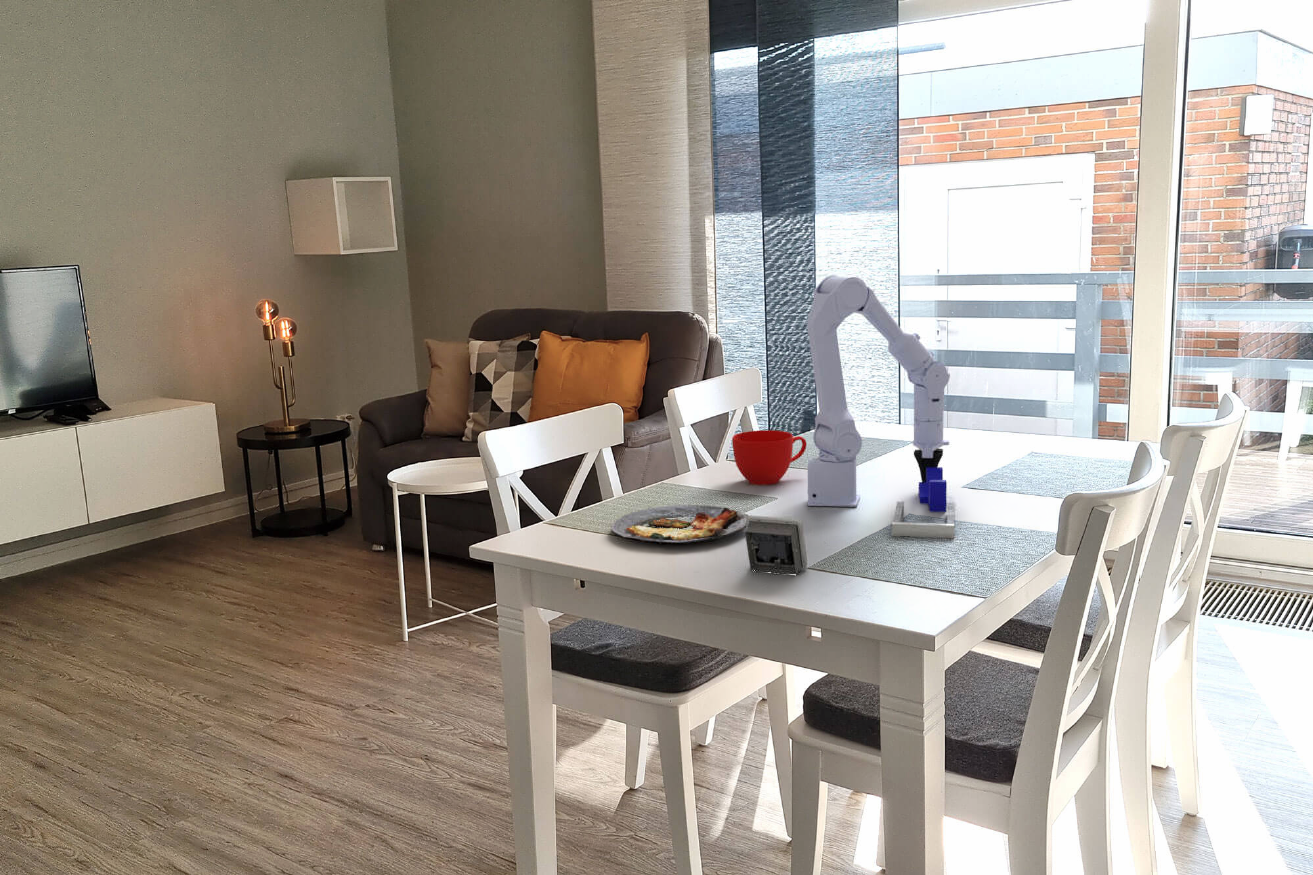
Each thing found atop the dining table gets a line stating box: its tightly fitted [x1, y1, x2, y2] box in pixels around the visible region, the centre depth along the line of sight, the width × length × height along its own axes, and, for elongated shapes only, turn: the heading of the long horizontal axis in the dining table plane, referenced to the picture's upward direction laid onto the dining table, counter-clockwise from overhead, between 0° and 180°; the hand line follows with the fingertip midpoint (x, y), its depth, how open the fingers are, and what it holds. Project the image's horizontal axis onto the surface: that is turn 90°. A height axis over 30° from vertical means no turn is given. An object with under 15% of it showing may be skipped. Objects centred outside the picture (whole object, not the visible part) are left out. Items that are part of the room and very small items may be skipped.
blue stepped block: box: [918, 466, 948, 513], centre depth 208 cm, size 12×4×6 cm, turn 169°
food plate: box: [611, 504, 750, 545], centre depth 198 cm, size 25×23×4 cm
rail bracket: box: [891, 501, 956, 539], centre depth 194 cm, size 10×15×2 cm
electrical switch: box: [744, 515, 808, 576], centre depth 172 cm, size 9×5×9 cm, turn 65°
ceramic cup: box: [731, 430, 807, 486], centre depth 232 cm, size 13×17×10 cm
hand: (928, 485), depth 218 cm, fingers closed
